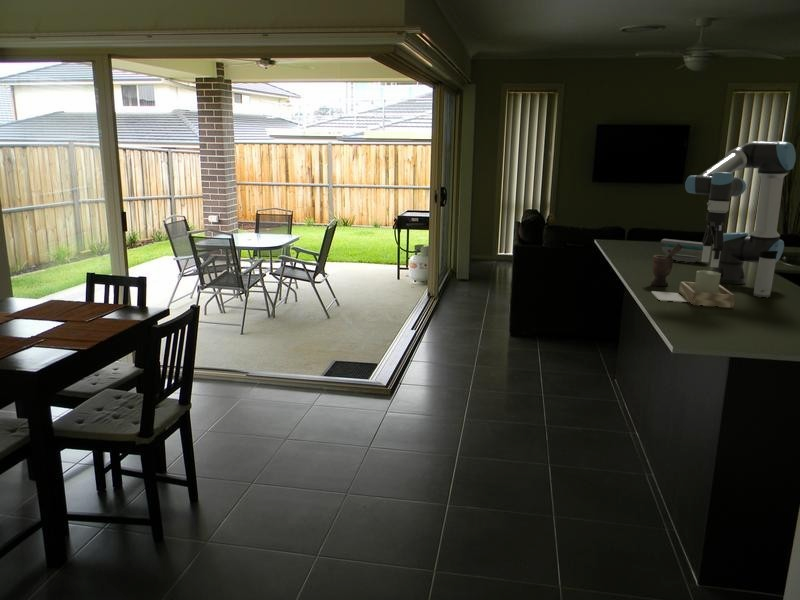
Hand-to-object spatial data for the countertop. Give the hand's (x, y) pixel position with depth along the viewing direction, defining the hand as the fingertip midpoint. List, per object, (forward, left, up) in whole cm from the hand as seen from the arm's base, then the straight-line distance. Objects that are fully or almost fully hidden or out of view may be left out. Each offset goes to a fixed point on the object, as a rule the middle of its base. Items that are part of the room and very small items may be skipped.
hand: (709, 264), depth 263 cm
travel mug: (-27, -16, -15) cm, 35 cm away
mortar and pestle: (+11, -26, -15) cm, 32 cm away
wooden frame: (0, 0, -15) cm, 15 cm away
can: (0, 0, -15) cm, 15 cm away
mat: (+14, 0, -15) cm, 20 cm away
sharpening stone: (-15, -104, -15) cm, 106 cm away
